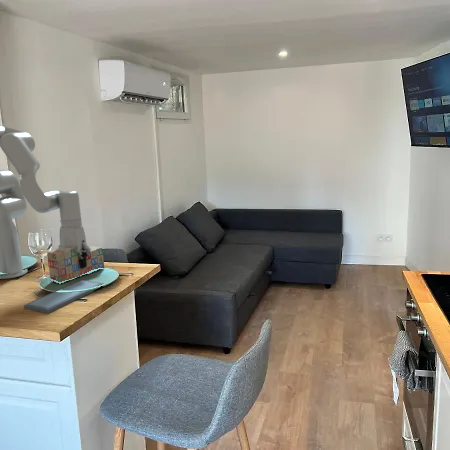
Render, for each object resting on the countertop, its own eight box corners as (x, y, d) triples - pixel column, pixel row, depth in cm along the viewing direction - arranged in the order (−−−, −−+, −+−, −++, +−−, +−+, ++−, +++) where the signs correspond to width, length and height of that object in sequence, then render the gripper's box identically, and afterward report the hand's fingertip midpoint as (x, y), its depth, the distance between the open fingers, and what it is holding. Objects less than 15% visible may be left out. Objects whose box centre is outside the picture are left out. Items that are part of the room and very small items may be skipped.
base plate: (24, 308, 149) (23, 304, 149) (81, 282, 171) (80, 279, 171) (48, 313, 144) (47, 309, 144) (103, 286, 167) (103, 283, 166)
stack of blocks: (94, 266, 191) (92, 238, 188) (104, 269, 187) (102, 240, 185) (50, 281, 174) (46, 251, 171) (60, 284, 170) (56, 253, 168)
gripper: (47, 223, 176) (53, 267, 180) (81, 226, 168) (86, 272, 172) (62, 219, 182) (67, 262, 186) (95, 222, 175) (99, 266, 179)
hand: (76, 266), depth 179 cm, fingers closed on stack of blocks, 6 cm apart
